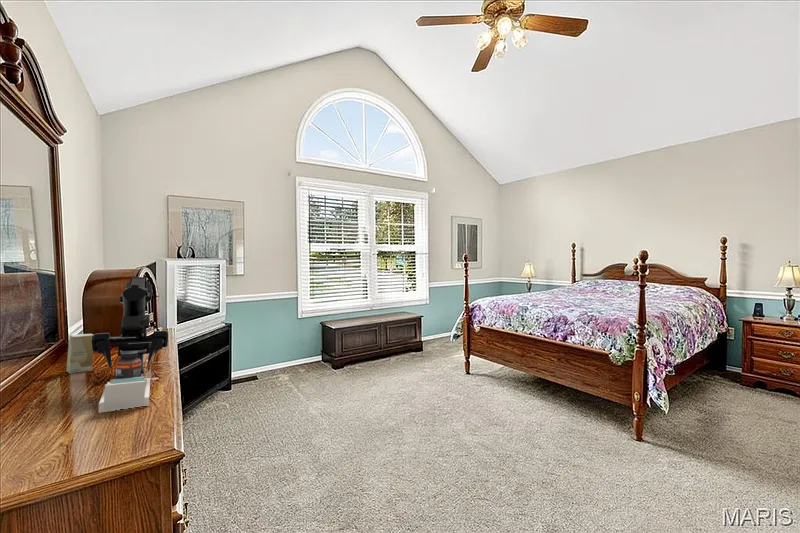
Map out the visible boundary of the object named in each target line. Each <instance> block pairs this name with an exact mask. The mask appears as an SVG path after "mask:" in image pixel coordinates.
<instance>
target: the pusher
mask: <svg viewBox="0 0 800 533" xmlns="http://www.w3.org/2000/svg"><path fill="white" fill-rule="evenodd" d="M144 379H145V376H141V377H132V378H122V379H116V378H113V379H110V381H109V382H110V384H116V383H126V382H136V381H144Z"/></svg>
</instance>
